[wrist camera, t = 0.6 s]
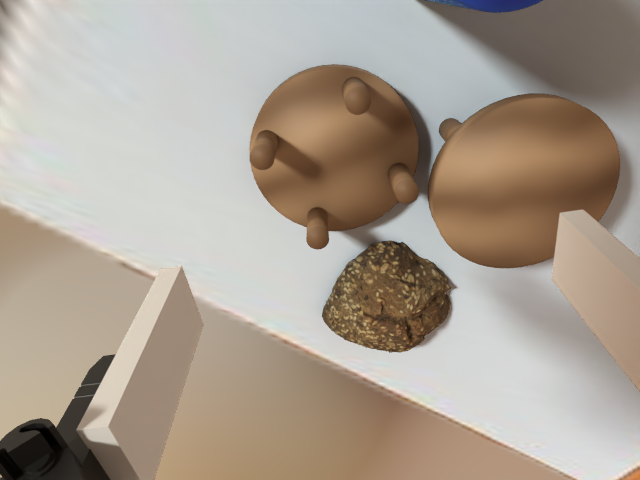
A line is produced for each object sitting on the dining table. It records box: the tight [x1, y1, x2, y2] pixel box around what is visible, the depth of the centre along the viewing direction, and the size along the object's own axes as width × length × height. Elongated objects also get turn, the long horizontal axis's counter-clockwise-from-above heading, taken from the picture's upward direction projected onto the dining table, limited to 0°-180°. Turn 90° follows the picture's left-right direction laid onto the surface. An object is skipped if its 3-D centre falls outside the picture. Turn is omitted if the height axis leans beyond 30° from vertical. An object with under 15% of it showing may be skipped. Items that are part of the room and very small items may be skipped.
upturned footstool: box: [250, 64, 419, 249], centre depth 36 cm, size 14×14×6 cm
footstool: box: [428, 93, 620, 268], centre depth 37 cm, size 14×14×6 cm
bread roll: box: [322, 241, 451, 352], centre depth 45 cm, size 13×12×5 cm
